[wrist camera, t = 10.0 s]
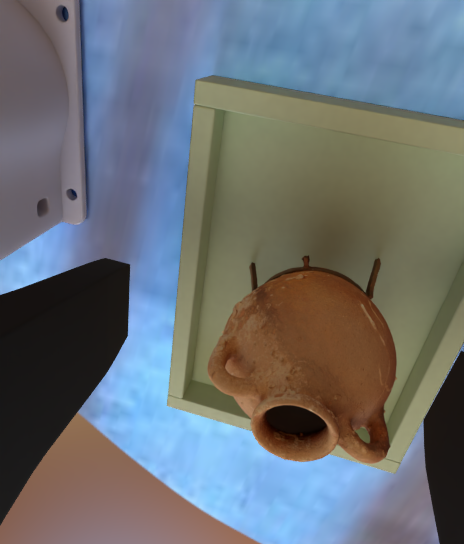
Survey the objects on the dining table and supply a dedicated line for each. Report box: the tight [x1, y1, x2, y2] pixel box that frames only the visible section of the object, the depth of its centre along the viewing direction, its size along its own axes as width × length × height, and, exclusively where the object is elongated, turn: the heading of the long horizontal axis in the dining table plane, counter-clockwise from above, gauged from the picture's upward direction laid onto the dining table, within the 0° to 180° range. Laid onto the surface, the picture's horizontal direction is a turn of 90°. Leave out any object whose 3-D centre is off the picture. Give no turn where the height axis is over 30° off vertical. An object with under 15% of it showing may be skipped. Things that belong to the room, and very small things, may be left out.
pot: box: [207, 255, 397, 464], centre depth 16 cm, size 6×8×6 cm
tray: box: [167, 75, 464, 474], centre depth 18 cm, size 16×12×2 cm
